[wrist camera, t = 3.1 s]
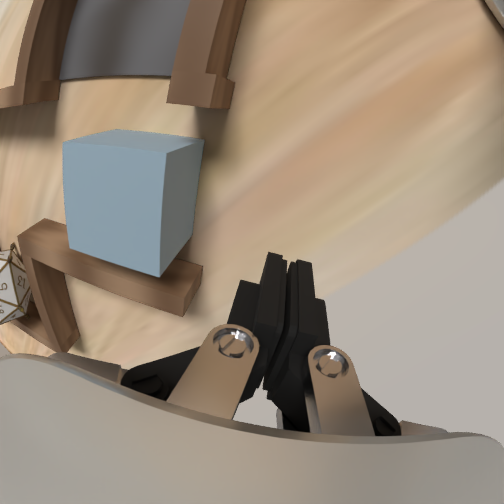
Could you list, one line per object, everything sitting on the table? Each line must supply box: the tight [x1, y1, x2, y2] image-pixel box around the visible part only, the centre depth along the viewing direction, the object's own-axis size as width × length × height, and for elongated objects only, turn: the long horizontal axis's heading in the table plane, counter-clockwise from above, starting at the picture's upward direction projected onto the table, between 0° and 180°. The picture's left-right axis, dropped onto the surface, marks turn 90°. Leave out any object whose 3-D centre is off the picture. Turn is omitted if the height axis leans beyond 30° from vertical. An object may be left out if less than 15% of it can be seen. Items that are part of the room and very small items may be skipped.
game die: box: [0, 243, 31, 325], centre depth 19 cm, size 9×8×10 cm
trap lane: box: [0, 0, 246, 353], centre depth 14 cm, size 30×38×5 cm
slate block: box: [63, 129, 205, 277], centre depth 14 cm, size 6×6×5 cm
